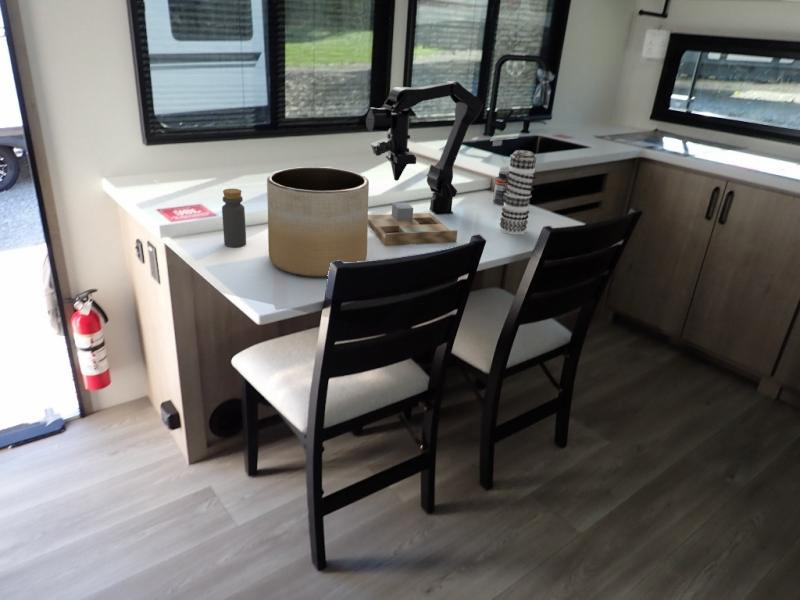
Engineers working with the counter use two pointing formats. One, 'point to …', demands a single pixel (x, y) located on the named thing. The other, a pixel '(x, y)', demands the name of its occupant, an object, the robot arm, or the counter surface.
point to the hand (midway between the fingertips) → (396, 180)
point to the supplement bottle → (500, 188)
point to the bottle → (233, 218)
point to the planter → (316, 219)
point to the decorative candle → (518, 192)
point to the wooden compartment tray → (411, 230)
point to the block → (402, 211)
